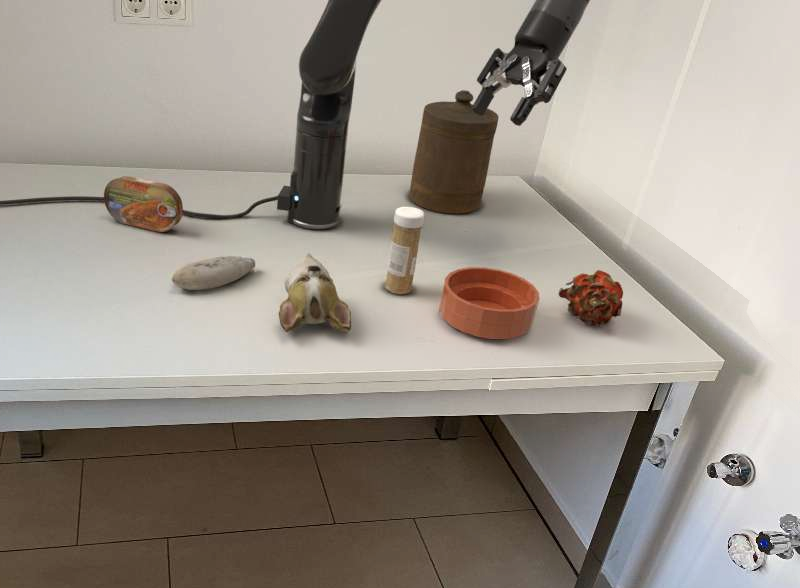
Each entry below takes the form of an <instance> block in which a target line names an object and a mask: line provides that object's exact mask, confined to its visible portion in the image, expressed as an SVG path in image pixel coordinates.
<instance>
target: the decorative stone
mask: <svg viewBox="0 0 800 588" xmlns="http://www.w3.org/2000/svg"><path fill="white" fill-rule="evenodd" d="M255 268H256V261H255V260H254V258H251V257H243V256H237V255H227V256H226V255H225V256H224V255H223V256H216V257H210V258H205V259H201V260H197V261H194V262H190V263H187V264H184V265H182V266H180V267H179V268H177V270H176V271H175V272H174V273H173V274H172V276H171V282H172V283H173V284H174V285H175V286H176V287H178V288H181V289H183V290H189V291H203V290H210V289H215V288H219V287H221V286H225V285H228V284H230V283H232V282H234V281H236V280H239V279H241V278H242V277H244V276H246V275H247V274H249V272H251V271H253V270H254V269H255Z"/></svg>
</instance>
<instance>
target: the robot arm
mask: <svg viewBox="0 0 800 588" xmlns="http://www.w3.org/2000/svg"><path fill="white" fill-rule="evenodd" d="M381 2H382V0H328V1H327V3H326V6H325V8H324V10H323V12H322V14H321V16H320V18H319V20H318V22H317V24H316V26H315V28H314V30H313V32H312V33H311V36H310V38H309V39H308V41H307V43H306V44H305V46H303V49H302V51H301V53H300V55H299V60H298V73H299V77H300V80H301V88H300V98H299V105H298V109H297V114H296V126H295V127H296V130H295V143H294V157H293V169H292V171H291V173H290V182H289V185H283V186H282V188H281V189H280V191H279V193H278V195H276V196H271V197H266V198H262V199H260V200H258V201H255V202H254V203H252V204H251V205H250V206H249V207H248V208H247V209H246V210H245V211H243V212H239V213H236V214H228V215H227V214H226V215H225V214H213V213H203V212H195V211H189V210H187V209H186V210H185V209H183V214H182V215H187V216H190V217H191V216H192V217H196V218H207V219H215V220H217V219H218V220H233V219H240V218H242V217H245V216H248V215H249V214H250V213H251V212H252V211H253V210H254V209H255V208H257V207H258V206H261V205H263V204H267V203H271V202H275V201H276V203H277V204H276V210H278V211H286V212H287V223H289V224H294V225H296V226H297V227H299V228H300V227H301V228H304V229H309V230H329V229H332V228H335V227H336V226H338V225H339V223H340V214H341V213H340V212H341V209H342V205H343V203H342V202H341V201H342V192H343V184H344V183H343V182H344V173H345V163H346V154H347V145H348V134H349V125H350V119H351V112H352V107H353V98H354V97H353V96H354V89H355V81H356V71H357V57H358V54H359V50H360V48H361V45H362V42H363V39H364V37H365V34H366V31H367V29H368V26H369V24H370V22H371V20H372V17H373V16H374V14H375V13H376V12H375V11H376V10H377V8H378V7H379V5H380V4H381ZM590 2H591V0H535V1H534V2H533V5H532V6H531V8H530V10H529V11H528V12H527V15H526V17H525V18H524V20H523V22H522V23H521V25H520V27H519V28H518V30H517V31H516V34H515V36H514V45H513V47H512V48H511V50H510V51H509V52H504V51H503V50H502V49H501V48H500V47H498V48H495V49H494V50H493V52H492V54H491V56H490V57H489V58H488V60H487V62H486V64H485V65H484V67H483V68H482V70H481V71H480V73H479V75H478V76H477V78H476V82H477V83H478V84H479V85H480V86H481V90H480V92H479V94H478V96H477V97H476V99H475V101H474V103H473V111H474V112H475V113H477V114H478V115H481V116H482V115H484V113H485V111H486V110H487V108H488V109H489V106H490V105H491V102H492V101H493V99H494V98H495V94H497V93H499V91H501V90H502V89H504V88H505V89H506V88H507V89H508V88H509V87H510V86H511V85H512V86H513V85H514V86H522V87H523V88H524V97H523V96H522V97H521V98H520V100H519V102H518V103H517V105H516V107H515V108H514V110H513V112H512V114H511V116H510V117H509V120H510V121H511V123H512V124H514V126H519V127H521V126H522V125H523V124H524V123H525V122H526V121H527V119H528V117H529V115H530V114H531V112H532V110H533V109H534V107H535V106H536V105H538V104H539V103H544V104H548V103H549V102H550V101H551V100H552V98H553V96H554V94H555V92H556V90H557V89H558V87H559V84H560V83H561V82H562V79H563V77H564V75H565V74H566V72H567V69H568V68H567V66H566V65H565V64H564V63H563V62H562V61H561V60H560V56H561V55H562V53H563V51H564V49H566V46H567V44H568V43H569V41H570V39H571V37H572V36H573V34H574V32H575V30H576V29H577V27H578V25H579V24H580V22H581V20H582V18H583V16H584V13H585V11H586V9H587V7H588V5H589V3H590ZM503 74H504V75H503ZM488 75H489V76H488ZM487 76H488V77H487ZM496 82H497V83H496ZM61 201H62V202H64V201H93V202H94V201H95V202H104V196H85V195H83V196H82V195H81V196H80V195H79V196H78V195H75V196H73V195H72V196H70V195H69V196H47V197H45V196H44V197H32V198H19V199H8V200H7V199H6V200H0V206H5V205H17V204H28V203H29V204H30V203H41V202H61Z"/></svg>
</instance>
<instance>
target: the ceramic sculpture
mask: <svg viewBox="0 0 800 588" xmlns="http://www.w3.org/2000/svg"><path fill="white" fill-rule="evenodd" d="M284 287H285V288H284V289H285V291H286V293H287V299H285V300H284V301H283V302H282V303H281V304H280V305H279V311H278V319H279V323H280V327H281V329H283V331H284V332H285V333H290V332H293V331H295V330H296V329H298V328H300V327H301V326H302V323H303V324H309V325H310V324H311V325H318V324H319V325H320V324H323V323H326V322H328V320H329V324H330V326H331V327H332V328H334V329H335V330H338V331H341V332H345V333H351V331H352V312H351V310H350V309H349V305H348V304H347V303H346V302H345V301H343V300H342V299H340V298H339V295H338V292H337V288H336V285H335V283H334V280H333V278H332V277H331V276H330V273H329V272H328V269H327V268H325V266H324V265H323V263H322V262H320V261H318V260H317V258H315V257H313V255H312V254H311V253H310V252H309V253H306V254H305V256H304V257H303V258H302V259H301V260H299V261H298V262H297V263H296V264H295V265H294V266H293V267H292V269H291V270H290V272H289V273H288V275H287V277H286V278H285V279H284Z"/></svg>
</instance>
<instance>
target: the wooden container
mask: <svg viewBox="0 0 800 588" xmlns="http://www.w3.org/2000/svg"><path fill="white" fill-rule="evenodd" d="M454 99H455V101H435V102H431V103H427V104H426V105H424V108H423V112H422V118H421V124H420V129H419V136H418V139H417V145H416V150H415V155H414V160H413V161H414V162H413V165H412V166H413V168H412V173H411V181H410V186H409V191H408V192H409V193H408V197H409V199H410V200H411V201H412V202H413V203H414V204H416V205H417V206H419V207H420V208H421V207H422V208H424V209H426V210H428V211H429V210H430V211H433V212H437V213H443V214H453V215H455V214H457V215H458V214H468V213H471V212H475V211H476V210H478V209H480V207H481V206H482V205H481V204H482V201H483V200H482V199H483V195H484V190H485V187H486V181H487V177H488V173H489V165H490V160H491V155H492V150H493V144H494V140H495V139H494V138H495V134H496V131H497V128H498V124H499V117H500V116H499V115H498V113H497V112H495V111H494V110H492V109H490V108H489V107H488V108H487V110H486V111H485V113H484V115H482V116H481V115H478V114H477V113H475V112H474V111H473V105H474V103H471V102H473V100H474V95H473V94H472V93H471V91H469V90H464V89H463V90H459V91H456V93H455V96H454Z"/></svg>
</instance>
